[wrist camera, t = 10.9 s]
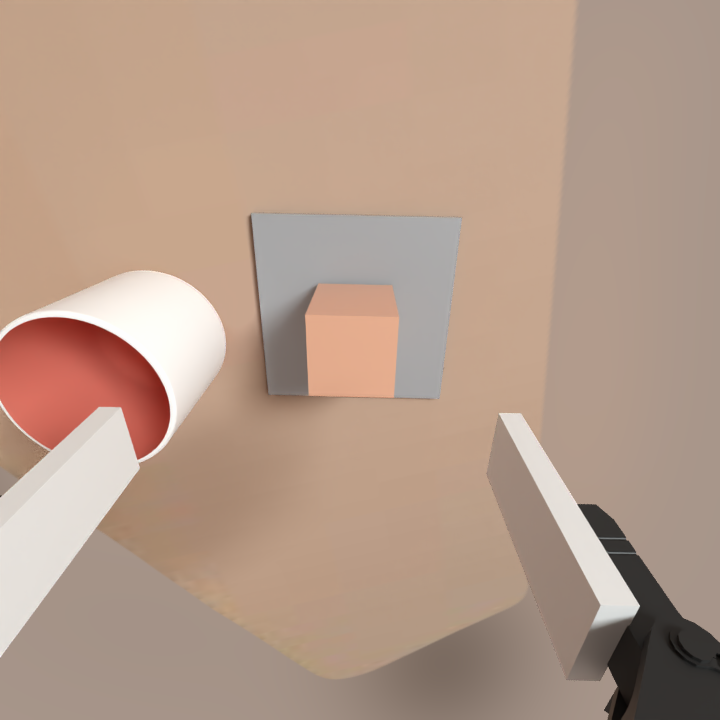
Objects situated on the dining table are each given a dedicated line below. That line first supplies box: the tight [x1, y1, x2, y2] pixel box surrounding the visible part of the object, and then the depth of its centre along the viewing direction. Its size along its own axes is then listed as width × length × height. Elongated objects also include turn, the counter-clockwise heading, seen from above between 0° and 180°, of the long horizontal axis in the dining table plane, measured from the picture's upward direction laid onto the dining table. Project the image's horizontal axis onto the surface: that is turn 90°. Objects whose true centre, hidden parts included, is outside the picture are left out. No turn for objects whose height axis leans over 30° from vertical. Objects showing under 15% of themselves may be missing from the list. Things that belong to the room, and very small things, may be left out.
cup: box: [0, 270, 226, 463], centre depth 26 cm, size 10×10×10 cm
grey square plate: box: [251, 213, 462, 399], centre depth 27 cm, size 14×14×7 cm
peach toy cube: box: [305, 283, 399, 398], centre depth 26 cm, size 5×5×7 cm
